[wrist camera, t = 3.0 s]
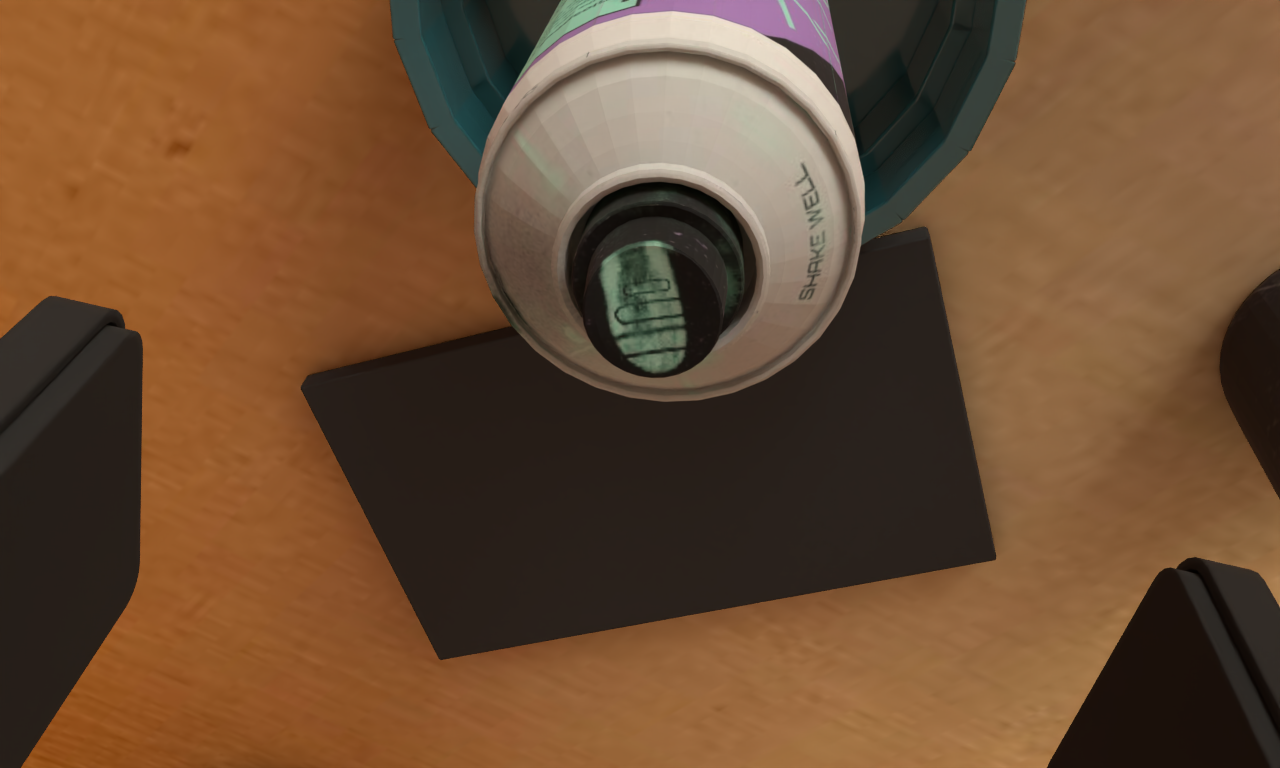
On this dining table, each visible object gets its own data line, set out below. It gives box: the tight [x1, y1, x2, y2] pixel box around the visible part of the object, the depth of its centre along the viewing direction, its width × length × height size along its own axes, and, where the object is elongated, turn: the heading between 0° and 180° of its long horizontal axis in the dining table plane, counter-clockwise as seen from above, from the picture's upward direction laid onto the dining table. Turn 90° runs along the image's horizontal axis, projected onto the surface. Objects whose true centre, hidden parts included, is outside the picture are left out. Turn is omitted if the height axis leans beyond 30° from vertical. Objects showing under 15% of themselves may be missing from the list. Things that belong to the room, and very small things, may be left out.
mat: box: [301, 227, 996, 660], centre depth 40 cm, size 12×20×1 cm, turn 107°
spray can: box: [474, 0, 865, 402], centre depth 23 cm, size 6×6×20 cm
